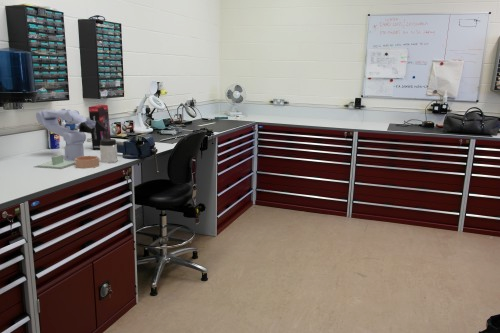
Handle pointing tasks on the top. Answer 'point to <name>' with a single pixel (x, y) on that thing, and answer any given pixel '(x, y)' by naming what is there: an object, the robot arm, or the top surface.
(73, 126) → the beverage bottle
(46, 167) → the mat
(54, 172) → the top surface
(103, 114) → the graphics card box
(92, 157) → the bowl
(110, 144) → the jar
